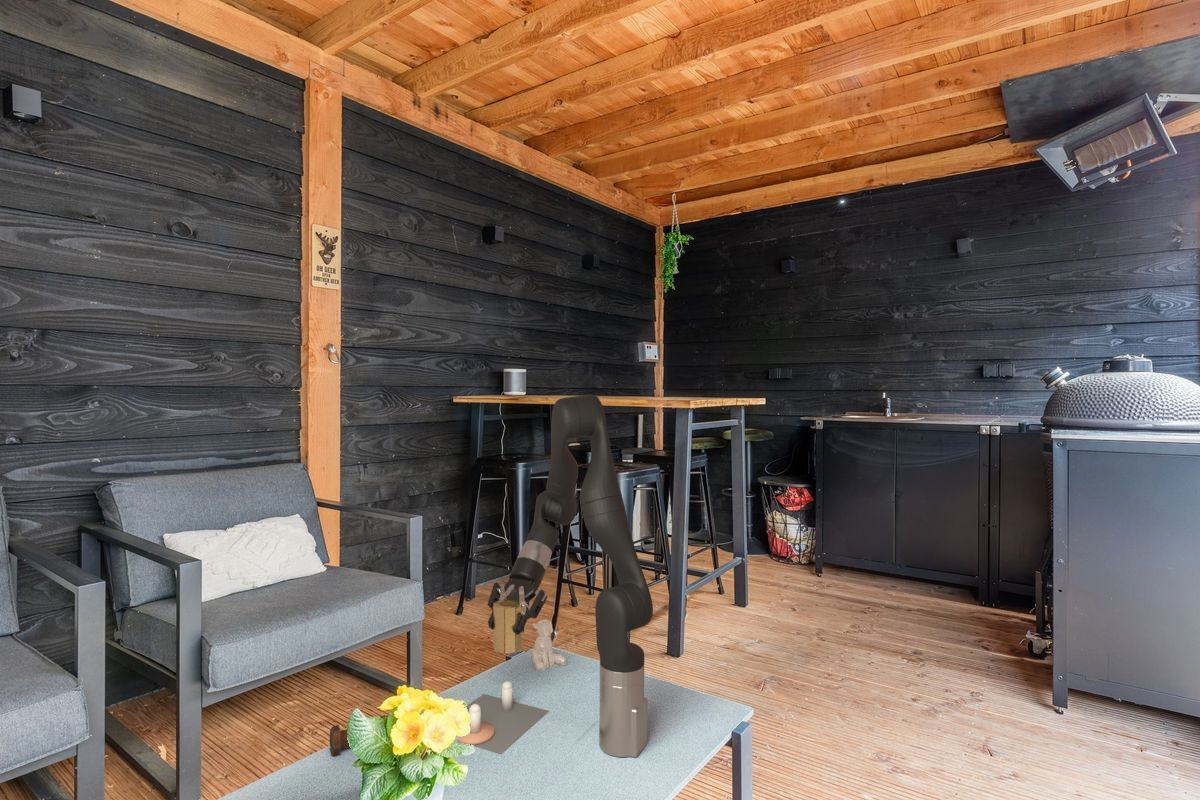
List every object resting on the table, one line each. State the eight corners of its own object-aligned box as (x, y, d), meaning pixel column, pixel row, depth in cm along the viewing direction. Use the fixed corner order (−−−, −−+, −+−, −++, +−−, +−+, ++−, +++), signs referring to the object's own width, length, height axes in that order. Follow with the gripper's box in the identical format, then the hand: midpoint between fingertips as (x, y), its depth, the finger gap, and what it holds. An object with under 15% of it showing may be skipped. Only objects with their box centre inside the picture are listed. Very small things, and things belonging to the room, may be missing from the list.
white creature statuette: (539, 675, 166) (539, 629, 166) (520, 664, 172) (520, 620, 172) (568, 665, 172) (568, 620, 172) (548, 655, 179) (549, 612, 178)
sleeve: (526, 645, 147) (526, 601, 147) (511, 654, 141) (511, 609, 141) (504, 640, 149) (504, 597, 149) (488, 650, 144) (488, 605, 144)
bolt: (406, 745, 137) (330, 762, 130) (403, 724, 141) (328, 739, 134) (410, 728, 134) (333, 744, 127) (406, 707, 138) (331, 721, 131)
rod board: (549, 717, 145) (549, 682, 145) (499, 763, 127) (499, 723, 127) (483, 699, 153) (483, 666, 153) (428, 740, 135) (428, 703, 135)
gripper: (500, 552, 155) (469, 617, 144) (552, 559, 149) (524, 628, 138) (512, 568, 160) (483, 633, 149) (563, 576, 153) (537, 643, 143)
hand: (503, 630), depth 144 cm, fingers closed on sleeve, 6 cm apart
